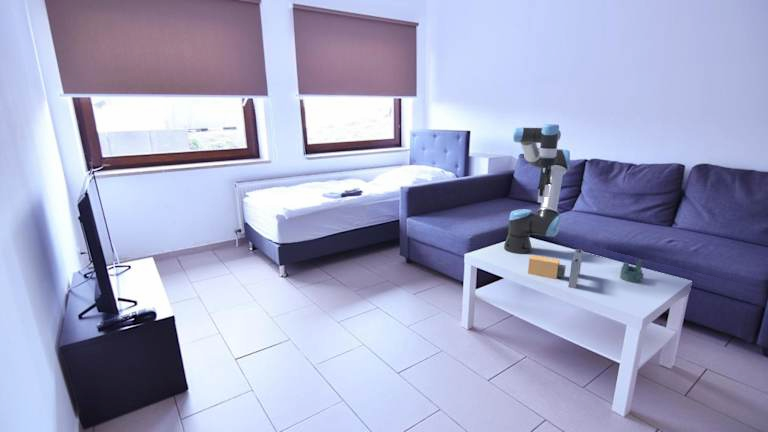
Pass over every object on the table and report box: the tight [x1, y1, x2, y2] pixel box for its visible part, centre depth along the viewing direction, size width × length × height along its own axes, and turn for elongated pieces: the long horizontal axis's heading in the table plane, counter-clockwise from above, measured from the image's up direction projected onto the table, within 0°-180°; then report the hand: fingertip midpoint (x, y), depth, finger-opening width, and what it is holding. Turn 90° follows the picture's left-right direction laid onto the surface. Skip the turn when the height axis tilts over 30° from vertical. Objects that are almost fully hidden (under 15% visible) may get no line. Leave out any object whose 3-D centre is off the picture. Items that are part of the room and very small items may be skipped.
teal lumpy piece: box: [619, 259, 644, 284], centre depth 183 cm, size 9×9×9 cm
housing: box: [568, 248, 584, 289], centre depth 181 cm, size 18×3×13 cm, turn 149°
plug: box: [527, 254, 567, 280], centre depth 188 cm, size 6×16×8 cm, turn 60°
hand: (543, 199), depth 193 cm, fingers open, 13 cm apart
